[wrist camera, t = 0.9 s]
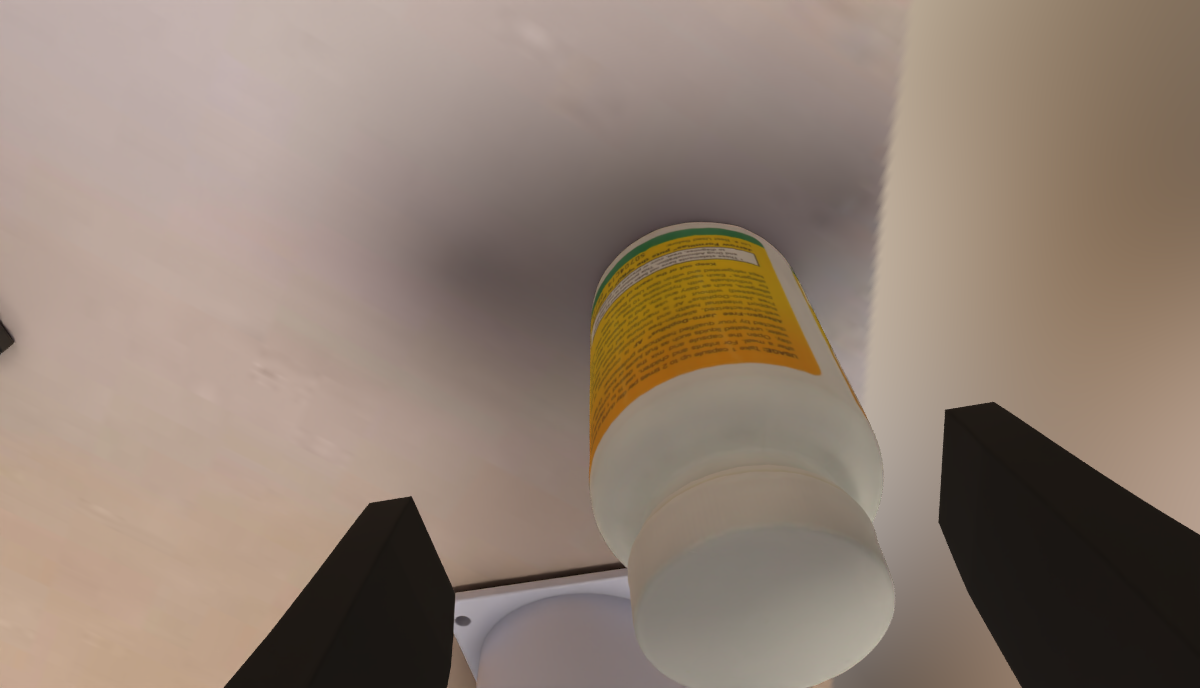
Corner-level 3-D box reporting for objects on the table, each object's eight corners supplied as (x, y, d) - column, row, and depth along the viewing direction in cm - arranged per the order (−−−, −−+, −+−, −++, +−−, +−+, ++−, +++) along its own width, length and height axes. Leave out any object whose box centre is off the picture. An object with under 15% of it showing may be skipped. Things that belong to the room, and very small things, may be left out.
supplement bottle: (839, 299, 19) (1021, 609, 11) (693, 424, 22) (759, 761, 14) (690, 168, 18) (780, 428, 9) (546, 320, 20) (518, 639, 12)
